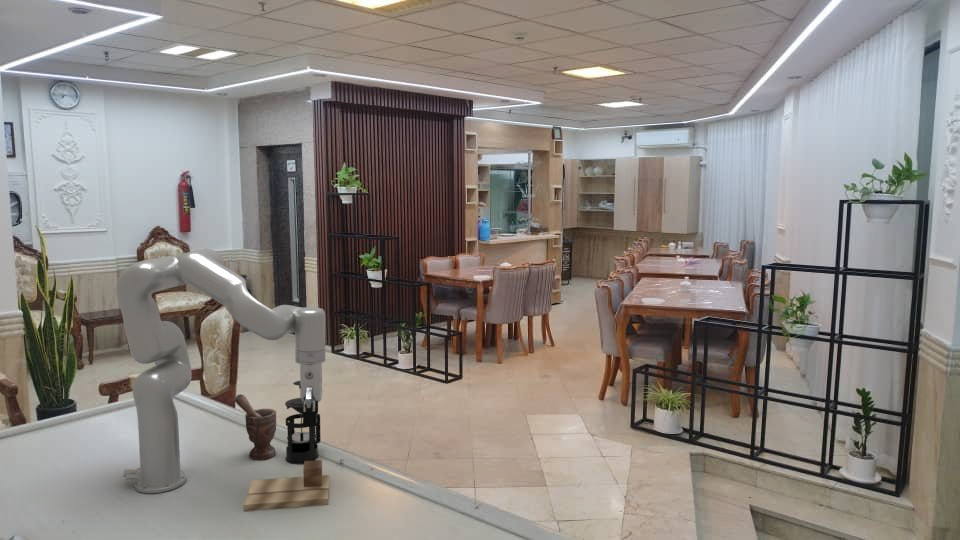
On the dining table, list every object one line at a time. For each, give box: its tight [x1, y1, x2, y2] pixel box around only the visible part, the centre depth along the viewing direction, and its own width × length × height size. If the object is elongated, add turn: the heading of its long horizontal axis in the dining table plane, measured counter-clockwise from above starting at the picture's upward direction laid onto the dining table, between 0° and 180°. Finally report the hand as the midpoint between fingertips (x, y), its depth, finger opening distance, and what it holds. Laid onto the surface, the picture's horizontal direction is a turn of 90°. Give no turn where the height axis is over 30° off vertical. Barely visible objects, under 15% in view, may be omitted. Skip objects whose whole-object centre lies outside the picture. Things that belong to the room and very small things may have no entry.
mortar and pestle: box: [234, 394, 277, 461], centre depth 193 cm, size 12×9×20 cm
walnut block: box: [302, 459, 323, 487], centre depth 174 cm, size 4×4×5 cm
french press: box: [284, 380, 322, 465], centre depth 194 cm, size 12×9×23 cm
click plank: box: [247, 474, 330, 494], centre depth 173 cm, size 20×7×2 cm, turn 101°
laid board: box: [243, 487, 330, 512], centre depth 166 cm, size 20×6×2 cm, turn 101°
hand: (310, 419), depth 173 cm, fingers open, 9 cm apart
